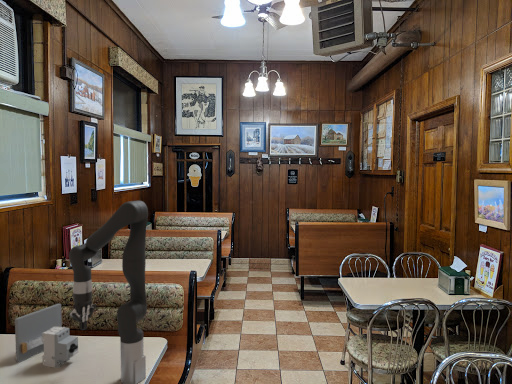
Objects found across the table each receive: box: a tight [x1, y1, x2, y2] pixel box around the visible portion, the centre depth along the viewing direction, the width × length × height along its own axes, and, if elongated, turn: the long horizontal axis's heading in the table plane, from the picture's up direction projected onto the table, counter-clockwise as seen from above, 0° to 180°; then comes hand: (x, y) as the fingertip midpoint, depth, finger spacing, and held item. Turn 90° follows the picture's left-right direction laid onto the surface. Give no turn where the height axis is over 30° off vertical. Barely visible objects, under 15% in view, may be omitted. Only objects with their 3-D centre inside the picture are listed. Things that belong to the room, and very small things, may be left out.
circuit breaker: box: [41, 326, 79, 369], centre depth 168 cm, size 8×14×15 cm, turn 78°
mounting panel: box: [14, 303, 63, 363], centre depth 179 cm, size 2×22×20 cm, turn 155°
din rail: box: [21, 335, 44, 353], centre depth 178 cm, size 2×20×4 cm, turn 155°
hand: (83, 329), depth 162 cm, fingers closed
